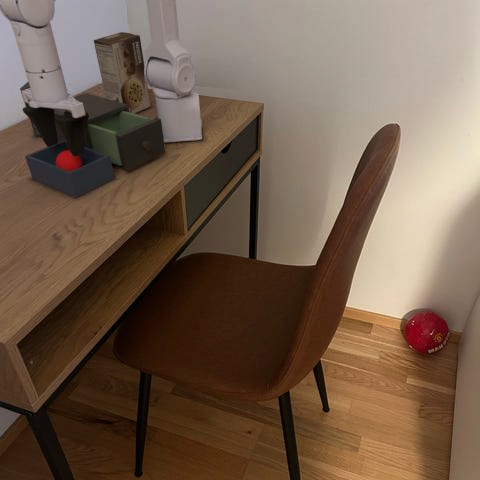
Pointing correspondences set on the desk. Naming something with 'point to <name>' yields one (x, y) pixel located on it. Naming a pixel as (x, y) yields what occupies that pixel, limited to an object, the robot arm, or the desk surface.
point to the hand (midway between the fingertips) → (65, 149)
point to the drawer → (127, 138)
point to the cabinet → (92, 112)
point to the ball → (68, 161)
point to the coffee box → (123, 70)
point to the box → (76, 181)
